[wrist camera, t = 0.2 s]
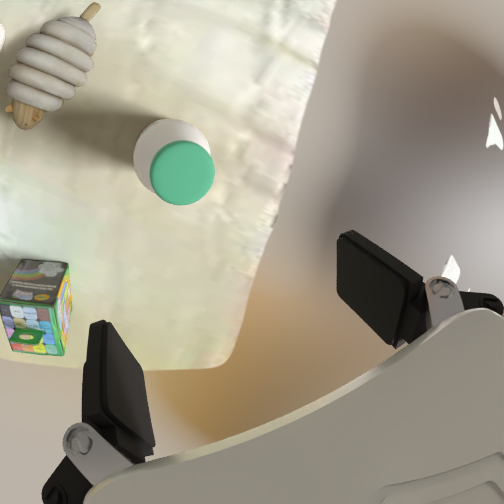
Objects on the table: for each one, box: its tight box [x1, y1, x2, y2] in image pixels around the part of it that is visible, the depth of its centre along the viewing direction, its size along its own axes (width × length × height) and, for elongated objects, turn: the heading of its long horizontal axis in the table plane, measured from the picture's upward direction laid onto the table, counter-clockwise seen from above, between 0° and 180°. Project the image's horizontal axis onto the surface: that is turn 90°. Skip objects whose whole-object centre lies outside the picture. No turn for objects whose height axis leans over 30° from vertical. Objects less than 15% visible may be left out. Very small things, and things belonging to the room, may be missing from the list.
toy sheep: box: [5, 2, 101, 130], centre depth 20 cm, size 11×17×11 cm, turn 149°
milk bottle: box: [133, 119, 215, 205], centre depth 26 cm, size 8×8×20 cm
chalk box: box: [0, 260, 72, 356], centre depth 30 cm, size 9×9×15 cm
